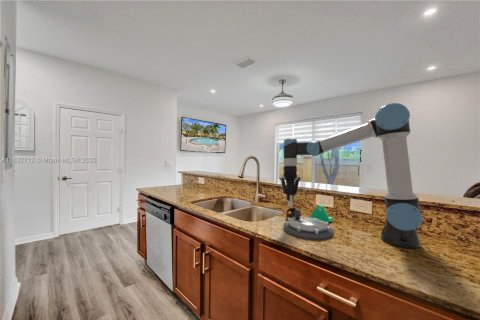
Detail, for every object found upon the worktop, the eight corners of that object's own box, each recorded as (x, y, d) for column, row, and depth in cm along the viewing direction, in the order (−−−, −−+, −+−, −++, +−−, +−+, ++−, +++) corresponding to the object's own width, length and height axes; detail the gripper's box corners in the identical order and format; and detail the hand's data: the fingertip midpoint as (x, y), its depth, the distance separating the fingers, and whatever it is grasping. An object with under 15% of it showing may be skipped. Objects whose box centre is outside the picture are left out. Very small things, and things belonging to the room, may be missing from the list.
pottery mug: (304, 221, 130) (299, 211, 129) (290, 227, 132) (285, 216, 130) (300, 212, 142) (295, 202, 140) (287, 217, 144) (282, 207, 142)
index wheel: (338, 229, 108) (338, 216, 108) (307, 235, 98) (307, 221, 98) (307, 218, 128) (307, 207, 128) (279, 222, 118) (279, 210, 118)
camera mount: (332, 221, 131) (333, 205, 131) (328, 224, 126) (329, 207, 125) (314, 217, 139) (314, 202, 139) (309, 220, 133) (310, 204, 133)
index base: (344, 236, 105) (344, 230, 105) (302, 242, 97) (302, 235, 97) (311, 221, 130) (311, 216, 130) (275, 224, 121) (275, 219, 121)
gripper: (295, 165, 124) (295, 204, 124) (277, 165, 120) (276, 205, 119) (303, 165, 117) (303, 206, 117) (283, 165, 112) (283, 208, 112)
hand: (290, 206), depth 118 cm, fingers closed
